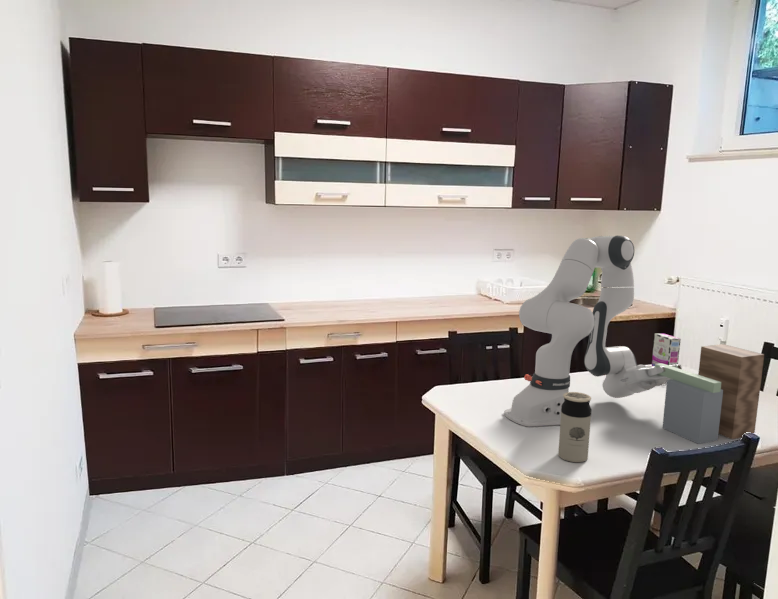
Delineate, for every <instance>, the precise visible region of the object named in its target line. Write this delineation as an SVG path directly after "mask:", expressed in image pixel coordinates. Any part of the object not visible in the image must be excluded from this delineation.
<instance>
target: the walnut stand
mask: <svg viewBox="0 0 778 599" xmlns="http://www.w3.org/2000/svg"><path fill="white" fill-rule="evenodd" d="M764 360H765V353H760V352H756V351H752V350H749V349H745V348H739V347H738V346H737V347H736V346H732V345H728V344H725V343H720V344H710V345H704V346H703V345H701V346H700V355H699V366H698V374H697V375H700V376H704V377H707V378H710V379H713V380H716V381H719V382H721V389H722V390H723V397H722V405H721V414H720V423H719V432H718V435H721V436H723V437H726V438H728V439H730V440H735V439H739V438H743V437H742V435H743V434H744V433H746V432H751V433H755V431H756V424H757V416H758V408H759V402H760V393H761V385H762V375H763V369H764Z"/></svg>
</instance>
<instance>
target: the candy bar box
mask: <svg viewBox="0 0 778 599" xmlns="http://www.w3.org/2000/svg"><path fill="white" fill-rule="evenodd" d="M681 340H682V339H681V338H679V337H676V336H673V335H669V334H666V333H654V339H653V348H652V357H651V358H652V359H651V366H655V364H659V363H663V364H666V365H676V364H679V360H680V358H679V357H680V356H679V355H680V349H681V348H680V347H681Z"/></svg>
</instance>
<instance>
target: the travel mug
mask: <svg viewBox="0 0 778 599" xmlns="http://www.w3.org/2000/svg"><path fill="white" fill-rule="evenodd" d="M563 397H564V403H563V404H562V406H561V421H560V426H559V436H558V437H559V438H558V451H557V452H558V453H557V456H559V458H561V459H562V460H564V461H567V462H570V463H582V462H585V461H587V460H588V459H589V446H590V433H591V421H592V407H591V405H590V403H591V401H592V396H590V395H589V394H587V393H584V392H579V391H569V392H567V393H564V394H563Z"/></svg>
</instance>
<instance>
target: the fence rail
mask: <svg viewBox="0 0 778 599" xmlns="http://www.w3.org/2000/svg"><path fill="white" fill-rule="evenodd" d="M655 367H656V368H658V367H665V372H663V373H659V375H662V376H665V377H668V378H671V379H674V380H677V381H680V382H683V383H686V384H688V385H691V386H694V387H697V388H700V389H703V390H706V391H709V392H712V393H716V392H720V391H721V382H719V381H716V380H713V379H710V378H707V377H704V376H700V375H698V374H697V373H694V372H691V371H688V370H684V369H683V368H682V369H679V368H675V367H672V366H669V365H666V364H663V363H659V364H655Z"/></svg>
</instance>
